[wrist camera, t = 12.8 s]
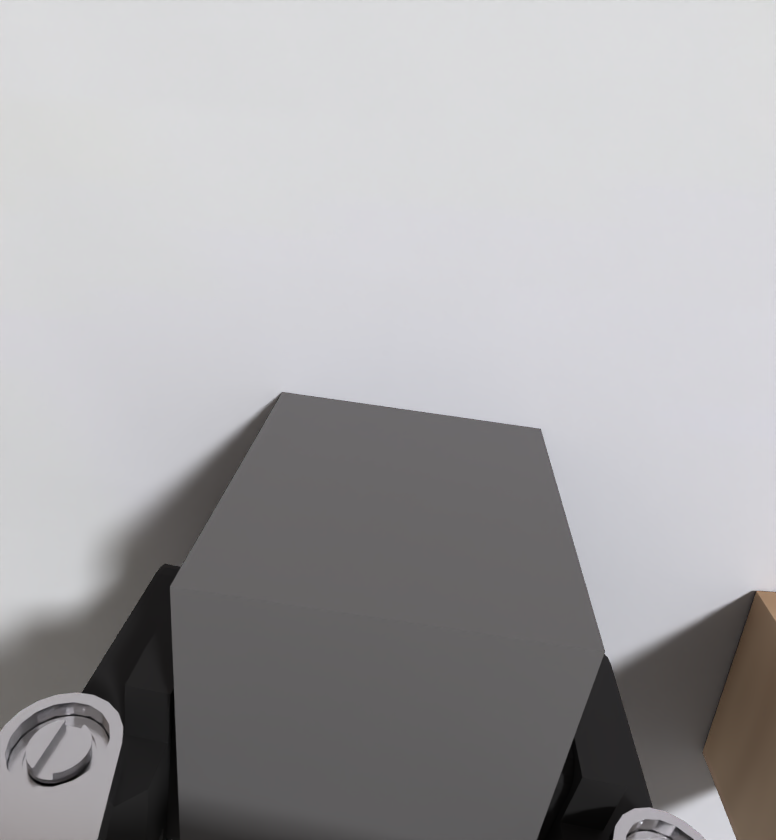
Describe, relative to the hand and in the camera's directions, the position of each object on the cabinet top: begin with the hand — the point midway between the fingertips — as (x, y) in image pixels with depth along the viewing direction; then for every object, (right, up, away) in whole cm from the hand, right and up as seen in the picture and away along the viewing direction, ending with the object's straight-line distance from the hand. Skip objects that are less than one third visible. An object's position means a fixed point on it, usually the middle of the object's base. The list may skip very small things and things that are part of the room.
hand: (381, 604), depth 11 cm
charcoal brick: (0, 0, 0) cm, 0 cm away
